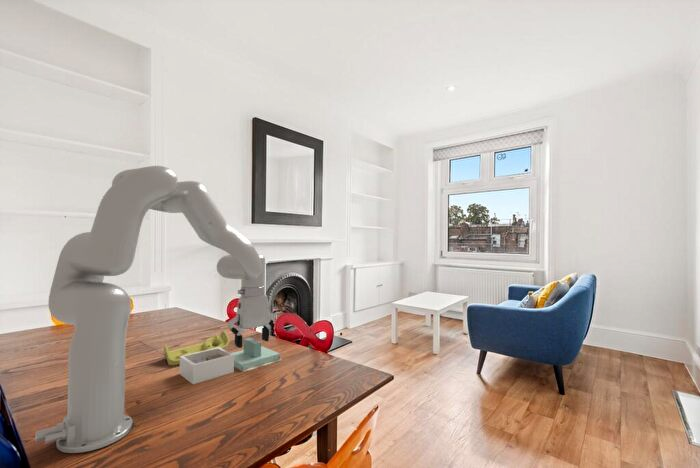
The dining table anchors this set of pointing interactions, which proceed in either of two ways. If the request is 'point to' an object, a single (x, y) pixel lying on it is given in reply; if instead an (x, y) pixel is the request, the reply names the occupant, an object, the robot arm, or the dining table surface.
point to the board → (259, 365)
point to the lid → (253, 355)
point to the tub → (206, 365)
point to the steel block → (198, 360)
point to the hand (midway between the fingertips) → (252, 343)
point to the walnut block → (213, 357)
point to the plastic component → (196, 348)
